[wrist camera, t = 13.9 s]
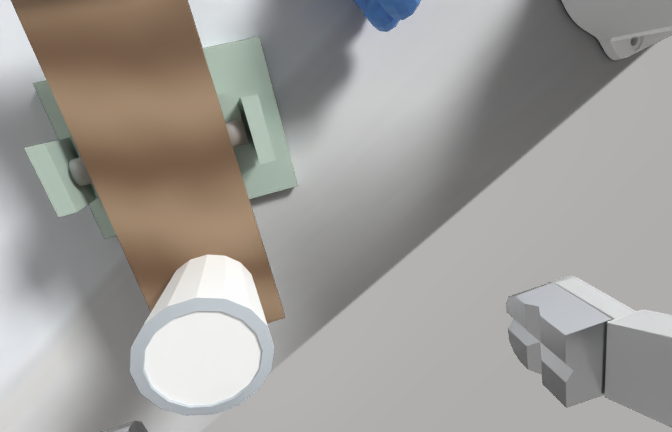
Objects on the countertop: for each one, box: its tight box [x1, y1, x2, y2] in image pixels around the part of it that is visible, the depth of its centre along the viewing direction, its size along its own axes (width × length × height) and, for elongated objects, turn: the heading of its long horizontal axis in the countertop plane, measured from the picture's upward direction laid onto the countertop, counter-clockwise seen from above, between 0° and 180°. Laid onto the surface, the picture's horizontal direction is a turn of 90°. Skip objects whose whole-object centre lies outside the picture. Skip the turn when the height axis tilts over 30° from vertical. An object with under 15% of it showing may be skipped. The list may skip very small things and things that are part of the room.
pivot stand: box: [24, 37, 298, 239], centre depth 26 cm, size 16×12×10 cm
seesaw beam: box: [11, 0, 285, 323], centre depth 22 cm, size 26×10×4 cm, turn 15°
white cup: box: [130, 254, 275, 416], centre depth 22 cm, size 7×7×7 cm
